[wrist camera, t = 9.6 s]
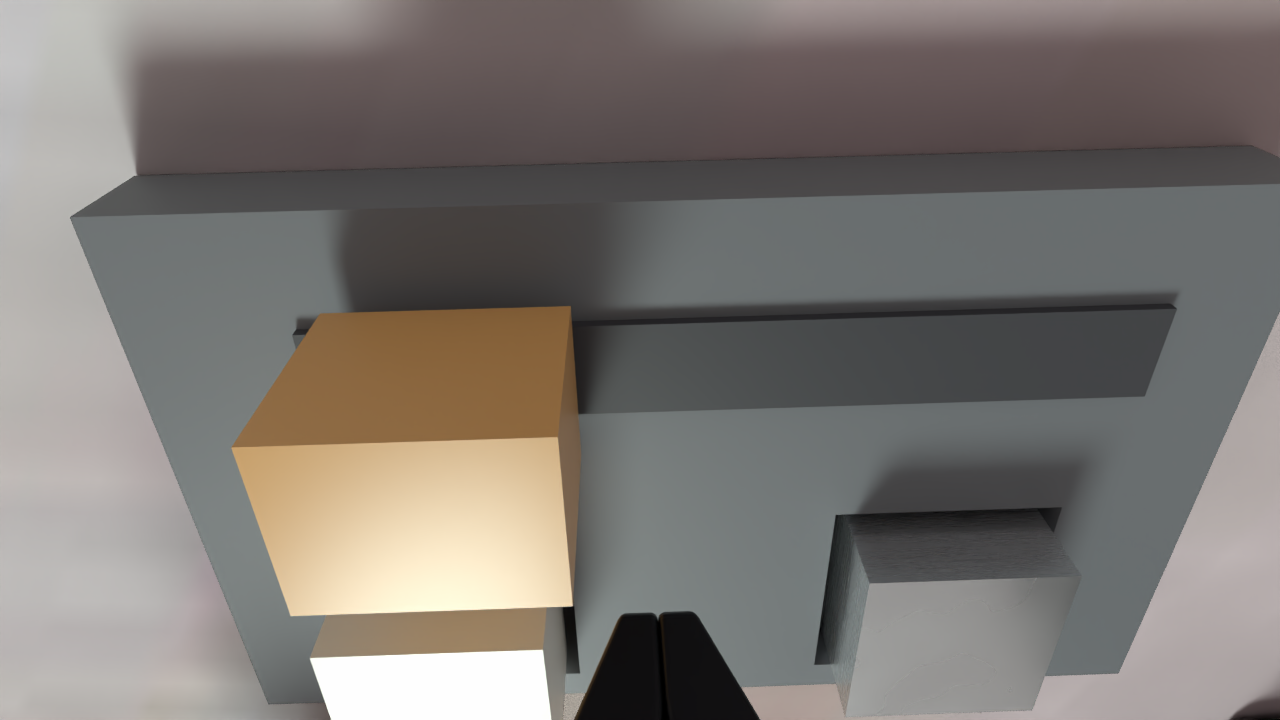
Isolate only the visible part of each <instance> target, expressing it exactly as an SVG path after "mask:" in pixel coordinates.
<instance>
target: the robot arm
mask: <svg viewBox="0 0 1280 720" xmlns="http://www.w3.org/2000/svg"><path fill="white" fill-rule="evenodd" d="M574 720H760V719H759V717H758V715H757V714H756V712H755V710H754V709H753V707H752V705H751V704H750V702H749V700H748V698H747V697H746V695H745V693H744V692H743V690H742V688H741V687H740V685H739V683H738V682H737V680H736V678H735V677H734V675H733V673H732V672H731V670H730V668H729V667H728V665H727V663H726V662H725V660H724V658H723V657H722V655H721V653H720V652H719V650H718V648H717V647H716V645H715V643H714V642H713V640H712V638H711V637H710V635H709V633H708V632H707V630H706V628H705V627H704V625H703V623H702V622H701V620H700V618H699V617H698V616H697V615H696V613H694V612H692V611H673V612H663V613H661V614H660V615H659V617H658V618H657V616H656V614H654V613H651V612H646V613H625V614H622V615H621V616H620V617H619V619H618V620H617V622H616V625H615V627H614V629H613V631H612V634H611V636H610V638H609V641H608V643H607V645H606V647H605V650H604V652H603V654H602V657H601V659H600V661H599V664H598V666H597V668H596V670H595V673H594V675H593V677H592V680H591V682H590V684H589V687H588V689H587V691H586V693H585V696H584V698H583V700H582V703H581V705H580V707H579V709H578V712H577V714H576V716H575V719H574ZM1263 720H1280V719H1263Z"/></svg>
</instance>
